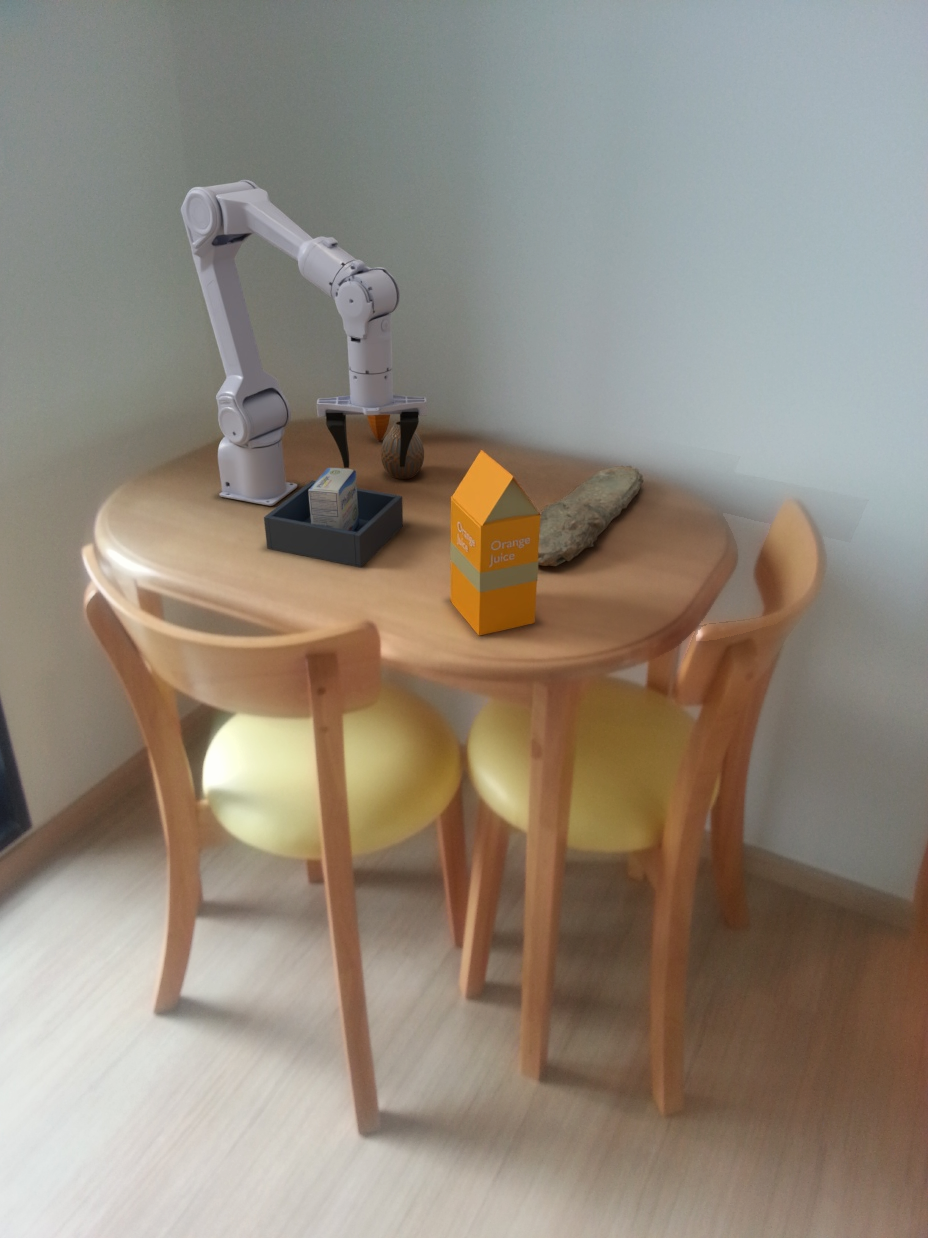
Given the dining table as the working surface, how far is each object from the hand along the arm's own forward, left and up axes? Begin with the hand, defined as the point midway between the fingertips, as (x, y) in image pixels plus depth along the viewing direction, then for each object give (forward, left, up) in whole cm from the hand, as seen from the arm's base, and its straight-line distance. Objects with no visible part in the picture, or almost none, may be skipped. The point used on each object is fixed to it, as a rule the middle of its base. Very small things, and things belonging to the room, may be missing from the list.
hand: (374, 464), depth 133 cm
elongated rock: (+27, +14, -10) cm, 32 cm away
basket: (-4, -4, -10) cm, 12 cm away
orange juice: (+23, -15, -10) cm, 29 cm away
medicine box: (-4, -4, -10) cm, 12 cm away
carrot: (-15, +32, -10) cm, 37 cm away
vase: (-5, +20, -10) cm, 23 cm away
